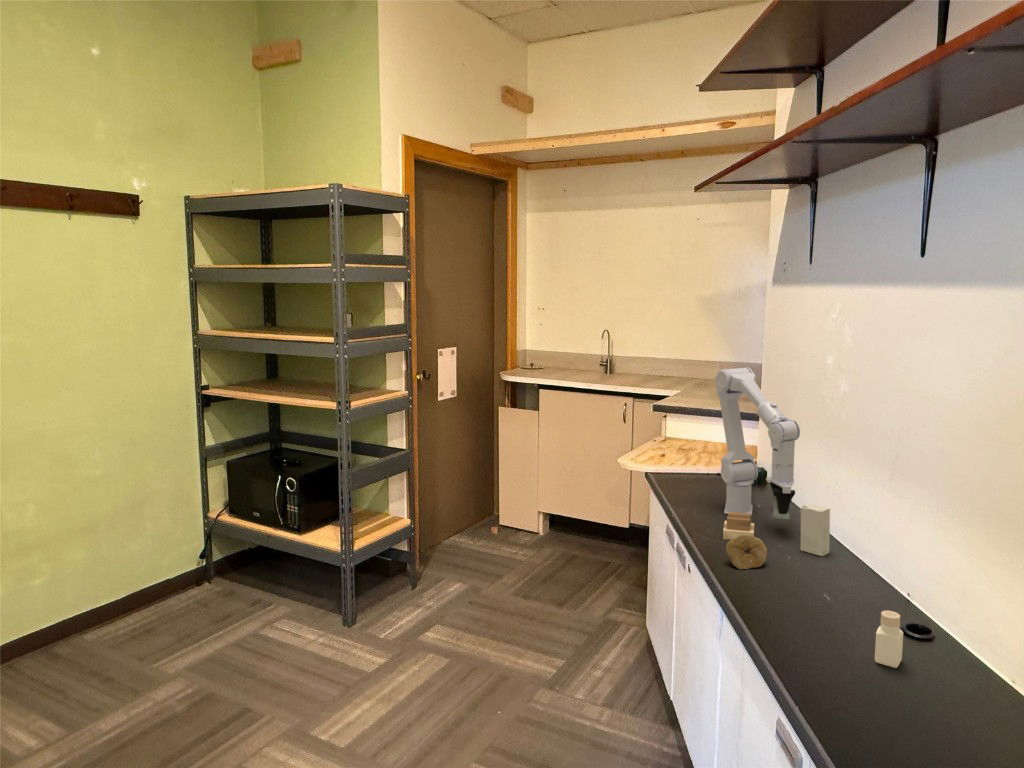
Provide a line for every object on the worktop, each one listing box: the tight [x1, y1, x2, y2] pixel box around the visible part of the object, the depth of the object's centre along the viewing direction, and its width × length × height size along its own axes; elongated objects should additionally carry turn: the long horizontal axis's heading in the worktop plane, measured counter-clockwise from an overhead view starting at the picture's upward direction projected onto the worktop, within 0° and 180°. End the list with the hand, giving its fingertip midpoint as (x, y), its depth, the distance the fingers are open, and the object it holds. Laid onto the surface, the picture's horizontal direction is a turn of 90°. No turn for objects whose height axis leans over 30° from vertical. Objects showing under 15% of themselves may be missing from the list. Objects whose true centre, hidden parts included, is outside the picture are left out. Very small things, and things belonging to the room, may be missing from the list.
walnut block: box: [726, 512, 752, 531], centre depth 199 cm, size 6×6×3 cm
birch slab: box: [722, 520, 755, 541], centre depth 199 cm, size 8×8×3 cm
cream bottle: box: [874, 610, 904, 669], centre depth 133 cm, size 4×4×10 cm
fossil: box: [725, 535, 768, 570], centre depth 180 cm, size 9×4×10 cm
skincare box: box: [800, 503, 831, 557], centre depth 186 cm, size 6×4×12 cm
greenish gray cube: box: [773, 495, 790, 520], centre depth 200 cm, size 4×4×5 cm
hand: (781, 510), depth 200 cm, fingers closed on greenish gray cube, 4 cm apart
